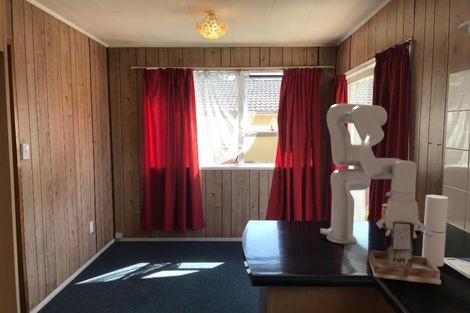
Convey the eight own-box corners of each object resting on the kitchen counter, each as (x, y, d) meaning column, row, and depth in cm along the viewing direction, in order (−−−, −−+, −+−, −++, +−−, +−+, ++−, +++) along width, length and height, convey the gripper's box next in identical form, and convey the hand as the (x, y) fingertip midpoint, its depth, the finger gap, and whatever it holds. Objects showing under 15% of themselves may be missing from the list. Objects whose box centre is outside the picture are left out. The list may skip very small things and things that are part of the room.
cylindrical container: (443, 268, 127) (448, 199, 125) (420, 263, 131) (425, 197, 129) (443, 261, 133) (448, 196, 131) (422, 257, 137) (426, 194, 135)
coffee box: (411, 271, 119) (414, 224, 117) (391, 269, 120) (394, 222, 119) (404, 261, 128) (407, 217, 126) (385, 259, 129) (388, 216, 128)
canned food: (379, 226, 180) (380, 203, 179) (395, 227, 179) (396, 204, 178) (383, 231, 172) (384, 206, 171) (400, 231, 171) (402, 207, 170)
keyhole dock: (374, 276, 118) (375, 266, 118) (368, 259, 134) (369, 250, 134) (440, 284, 114) (441, 273, 113) (427, 265, 129) (427, 255, 129)
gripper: (377, 196, 120) (374, 248, 122) (433, 200, 116) (429, 253, 118) (374, 192, 128) (371, 241, 129) (427, 196, 123) (424, 246, 125)
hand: (399, 246), depth 123 cm, fingers closed on coffee box, 6 cm apart
